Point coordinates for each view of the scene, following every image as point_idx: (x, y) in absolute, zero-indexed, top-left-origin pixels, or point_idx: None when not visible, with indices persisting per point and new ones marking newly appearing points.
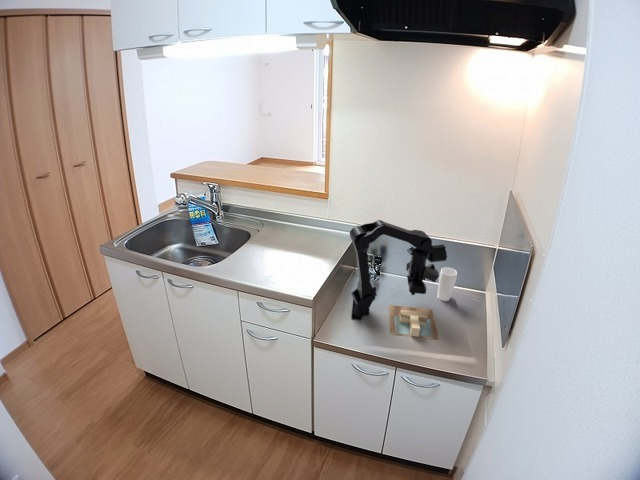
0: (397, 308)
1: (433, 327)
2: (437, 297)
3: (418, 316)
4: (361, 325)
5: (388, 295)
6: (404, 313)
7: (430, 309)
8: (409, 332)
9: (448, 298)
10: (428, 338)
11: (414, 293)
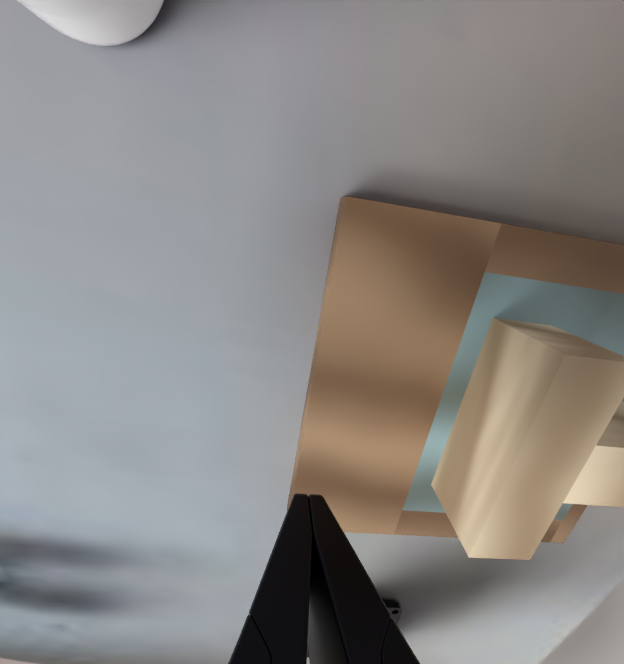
0: (326, 484)
1: (595, 266)
2: (91, 31)
3: (598, 443)
4: (431, 616)
5: (137, 492)
6: (520, 538)
7: (347, 217)
8: None
9: None
10: None
11: (337, 530)
